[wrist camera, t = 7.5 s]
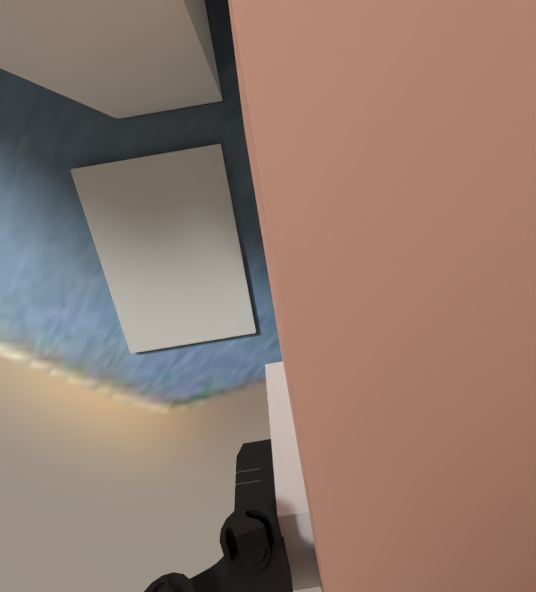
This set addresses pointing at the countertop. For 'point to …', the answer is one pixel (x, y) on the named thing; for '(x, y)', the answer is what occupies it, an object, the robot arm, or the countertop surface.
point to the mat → (168, 247)
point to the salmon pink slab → (402, 277)
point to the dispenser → (113, 52)
